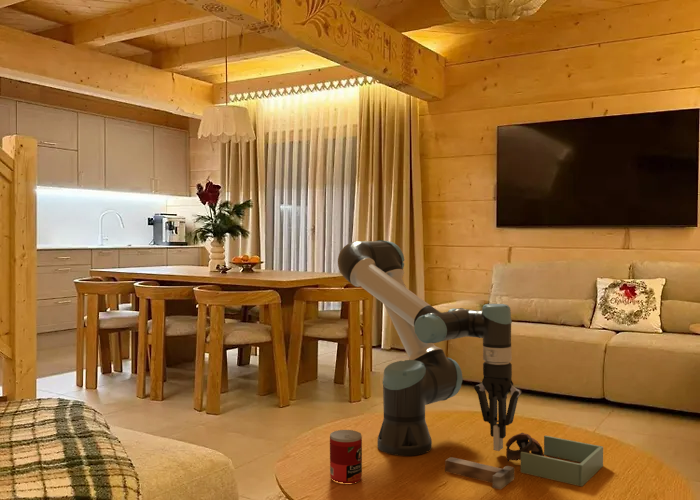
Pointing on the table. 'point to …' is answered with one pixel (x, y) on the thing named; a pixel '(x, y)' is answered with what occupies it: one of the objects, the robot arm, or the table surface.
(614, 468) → the table surface
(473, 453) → the table surface
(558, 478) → the green u-shaped frame
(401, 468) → the table surface
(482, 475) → the hammer
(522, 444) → the pottery mug
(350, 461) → the canned food
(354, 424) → the table surface
